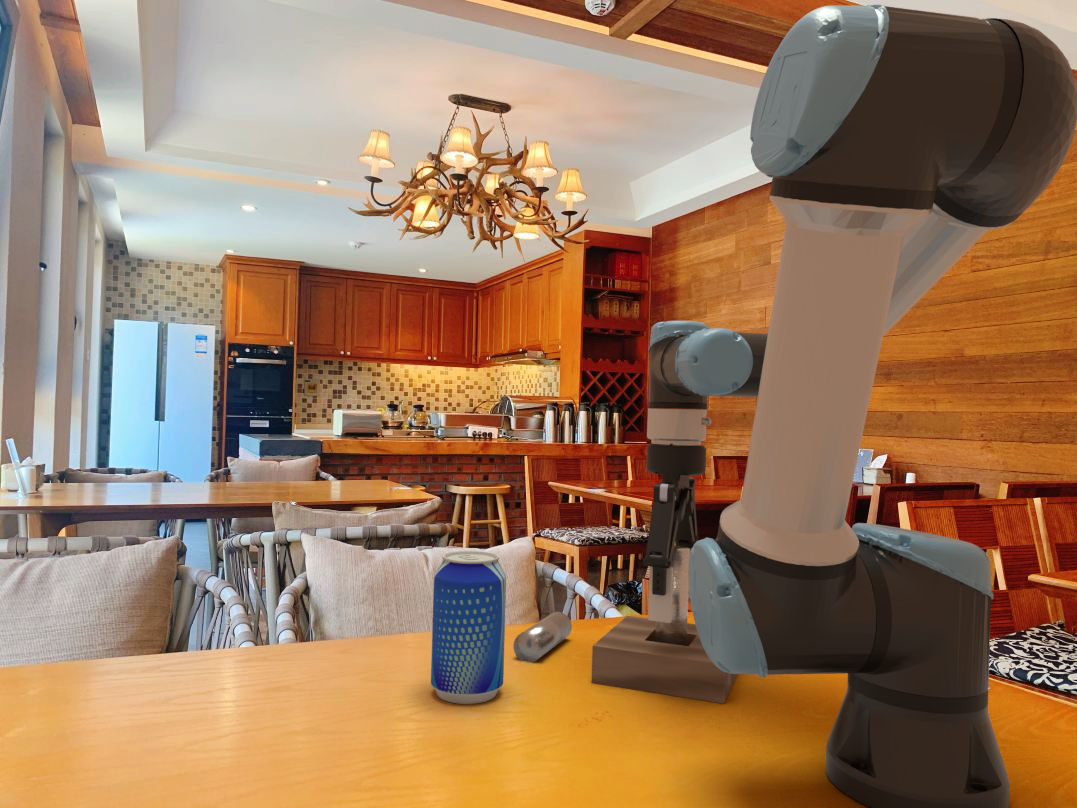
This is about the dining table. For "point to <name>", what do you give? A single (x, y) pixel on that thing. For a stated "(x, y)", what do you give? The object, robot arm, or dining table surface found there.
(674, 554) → the peg
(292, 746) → the dining table surface
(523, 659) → the lying peg
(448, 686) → the beer can
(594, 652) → the socket block
